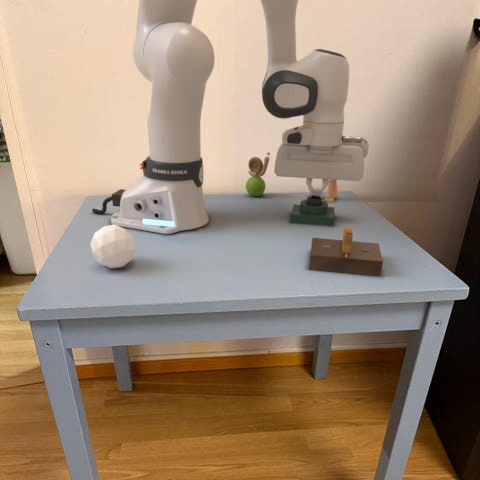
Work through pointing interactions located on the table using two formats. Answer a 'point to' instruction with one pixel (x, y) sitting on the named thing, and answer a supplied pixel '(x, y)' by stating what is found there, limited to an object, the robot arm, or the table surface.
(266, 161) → the snail figurine
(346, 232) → the lock turn
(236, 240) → the table surface
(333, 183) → the grandmother figurine
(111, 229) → the geometric ball
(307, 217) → the block
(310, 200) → the bell button
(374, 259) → the plate
